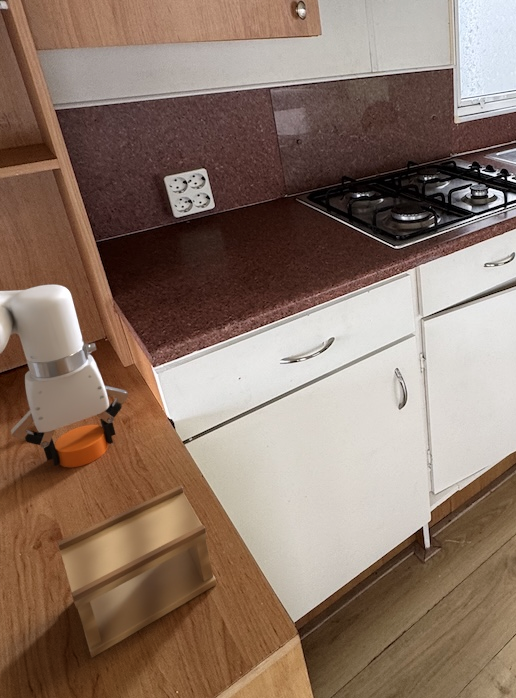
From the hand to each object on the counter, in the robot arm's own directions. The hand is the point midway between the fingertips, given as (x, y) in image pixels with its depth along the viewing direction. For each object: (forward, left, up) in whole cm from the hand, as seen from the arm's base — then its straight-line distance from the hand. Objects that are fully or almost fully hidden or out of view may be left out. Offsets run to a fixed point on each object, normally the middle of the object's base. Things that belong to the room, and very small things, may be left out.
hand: (82, 449), depth 99 cm
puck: (0, 0, -1) cm, 1 cm away
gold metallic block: (+15, -33, -1) cm, 36 cm away
